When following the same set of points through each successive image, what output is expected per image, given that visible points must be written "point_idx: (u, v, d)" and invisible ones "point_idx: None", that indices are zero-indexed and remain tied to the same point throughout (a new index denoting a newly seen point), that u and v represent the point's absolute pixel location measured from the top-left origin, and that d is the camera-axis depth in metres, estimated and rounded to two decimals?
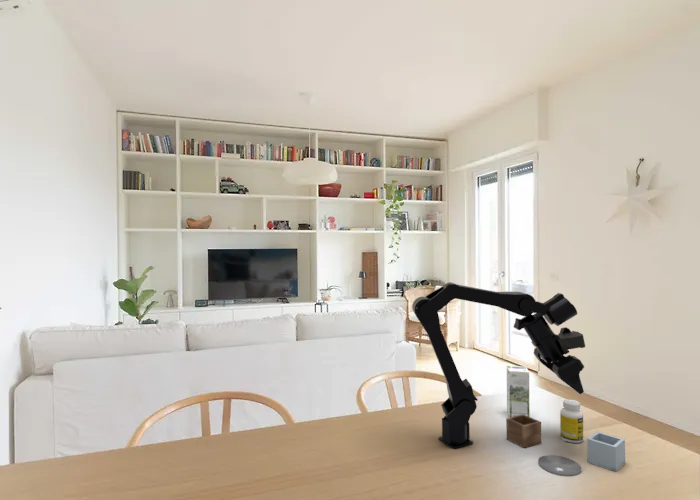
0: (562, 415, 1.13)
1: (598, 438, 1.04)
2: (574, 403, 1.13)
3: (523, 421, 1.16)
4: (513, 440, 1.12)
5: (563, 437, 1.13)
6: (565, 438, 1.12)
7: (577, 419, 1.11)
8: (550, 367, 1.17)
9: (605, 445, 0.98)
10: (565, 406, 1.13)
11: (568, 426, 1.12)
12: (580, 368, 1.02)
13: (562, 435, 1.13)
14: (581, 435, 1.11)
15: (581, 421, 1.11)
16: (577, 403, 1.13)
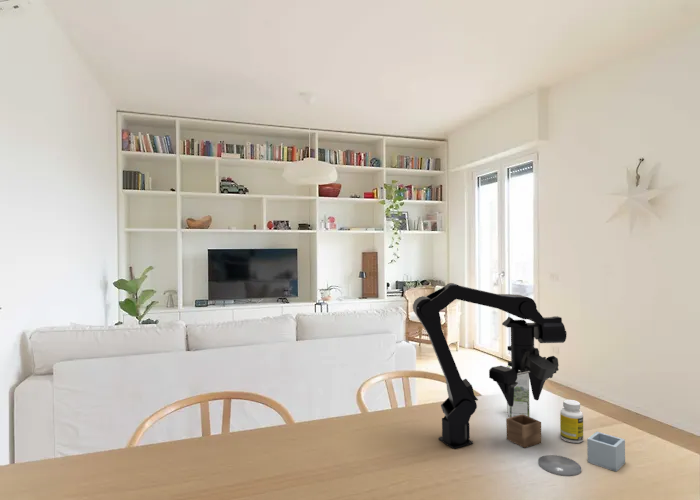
0: (562, 415, 1.13)
1: (598, 438, 1.04)
2: (574, 403, 1.13)
3: (523, 421, 1.16)
4: (513, 440, 1.12)
5: (563, 437, 1.13)
6: (565, 438, 1.12)
7: (577, 419, 1.11)
8: (531, 378, 1.17)
9: (605, 445, 0.98)
10: (565, 406, 1.13)
11: (568, 426, 1.12)
12: (502, 381, 1.07)
13: (562, 435, 1.13)
14: (581, 435, 1.11)
15: (581, 421, 1.11)
16: (577, 403, 1.13)
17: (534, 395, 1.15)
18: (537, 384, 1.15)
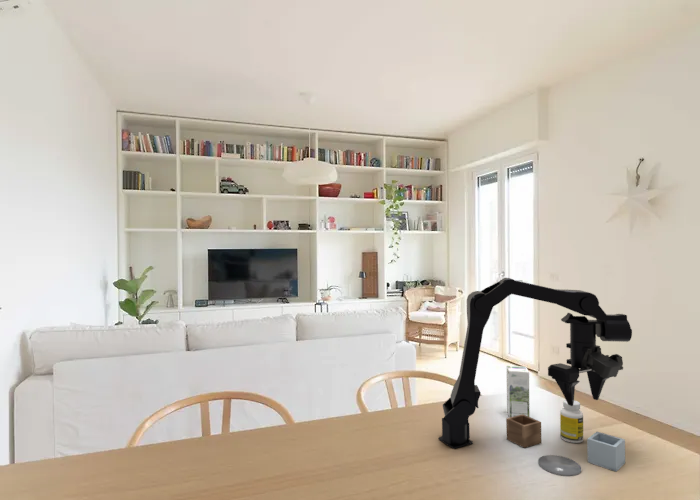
0: (562, 415, 1.13)
1: (598, 438, 1.04)
2: (574, 403, 1.13)
3: (523, 421, 1.16)
4: (513, 440, 1.12)
5: (563, 437, 1.13)
6: (565, 438, 1.12)
7: (577, 419, 1.11)
8: (589, 377, 1.12)
9: (605, 445, 0.98)
10: (565, 406, 1.13)
11: (568, 426, 1.12)
12: (563, 379, 1.03)
13: (562, 435, 1.13)
14: (581, 435, 1.11)
15: (581, 421, 1.11)
16: (577, 403, 1.13)
17: (593, 395, 1.11)
18: (597, 383, 1.10)
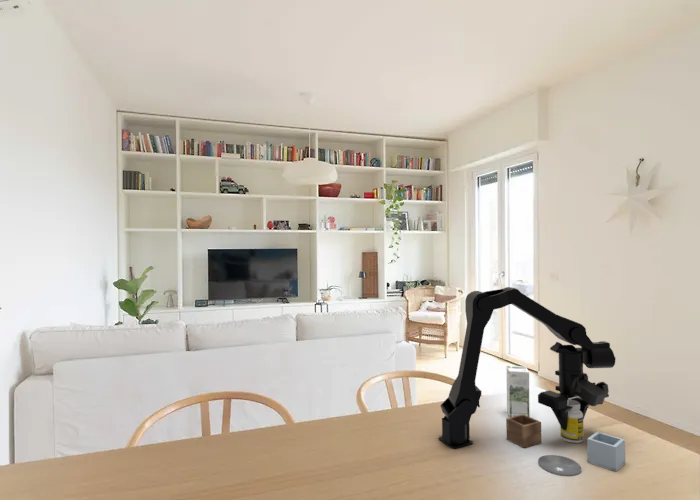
0: None
1: (598, 438, 1.04)
2: (574, 403, 1.13)
3: (523, 421, 1.16)
4: (513, 440, 1.12)
5: (563, 437, 1.13)
6: (565, 438, 1.12)
7: (577, 419, 1.11)
8: None
9: (605, 445, 0.98)
10: None
11: (568, 426, 1.12)
12: (553, 407, 1.08)
13: (562, 435, 1.13)
14: (581, 435, 1.11)
15: (581, 421, 1.11)
16: (577, 403, 1.13)
17: None
18: (580, 410, 1.15)
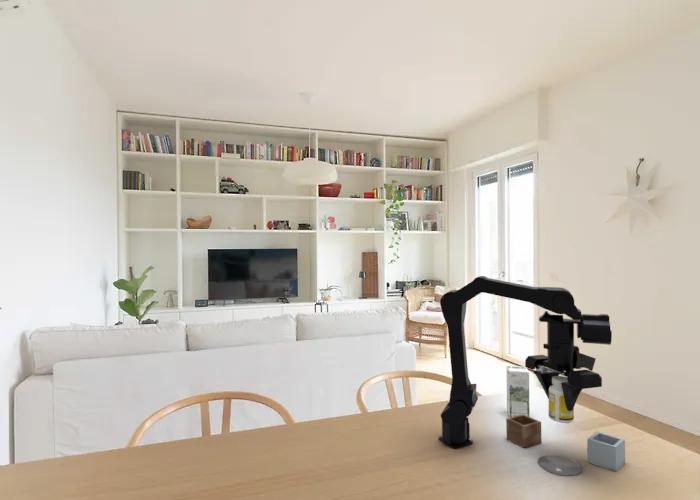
0: None
1: (598, 438, 1.04)
2: (565, 378, 1.03)
3: (523, 421, 1.16)
4: (513, 440, 1.12)
5: (567, 420, 1.00)
6: (570, 420, 1.00)
7: None
8: (545, 381, 1.05)
9: (605, 445, 0.98)
10: None
11: None
12: (599, 385, 0.94)
13: (566, 418, 1.00)
14: None
15: None
16: (564, 377, 1.04)
17: None
18: (552, 384, 1.06)
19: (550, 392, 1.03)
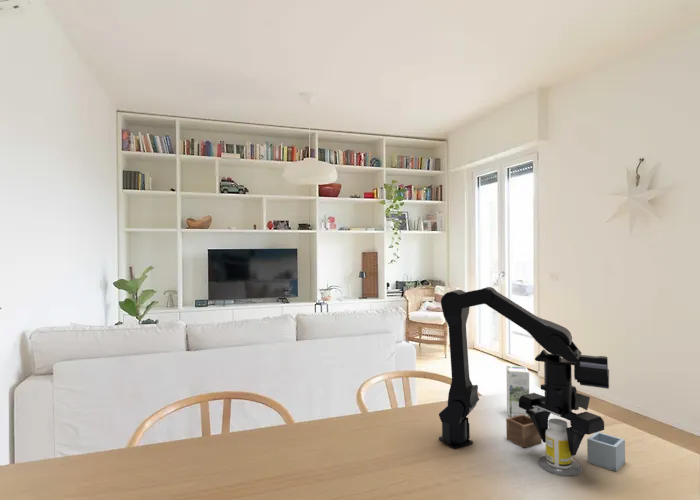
0: (566, 441, 0.97)
1: (598, 438, 1.04)
2: (561, 421, 1.00)
3: (523, 421, 1.16)
4: (513, 440, 1.12)
5: (567, 465, 0.97)
6: (569, 465, 0.98)
7: None
8: (538, 422, 1.03)
9: (605, 445, 0.98)
10: (564, 429, 0.98)
11: None
12: (602, 428, 0.92)
13: (566, 464, 0.97)
14: None
15: None
16: (559, 419, 1.01)
17: (545, 438, 1.03)
18: (545, 424, 1.04)
19: (548, 437, 0.99)
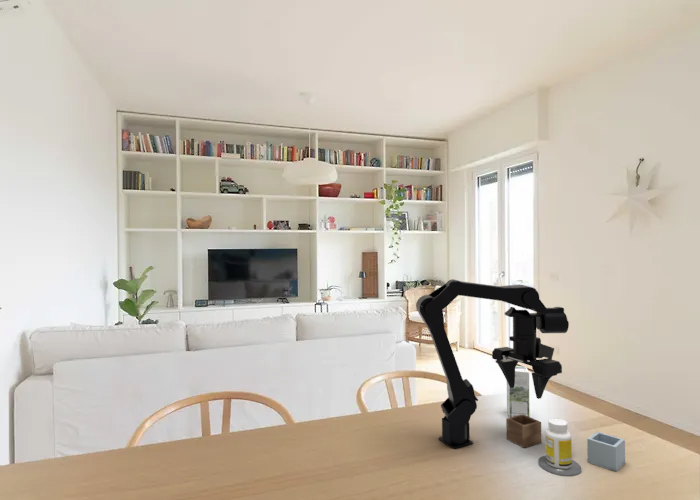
0: (566, 441, 0.97)
1: (598, 438, 1.04)
2: (561, 421, 1.00)
3: (523, 421, 1.16)
4: (513, 440, 1.12)
5: (567, 465, 0.97)
6: (569, 465, 0.98)
7: None
8: (506, 369, 1.17)
9: (605, 445, 0.98)
10: (564, 429, 0.98)
11: (570, 449, 0.98)
12: (560, 371, 1.05)
13: (566, 464, 0.97)
14: None
15: None
16: (559, 419, 1.01)
17: (511, 384, 1.17)
18: (512, 372, 1.18)
19: (548, 437, 0.99)
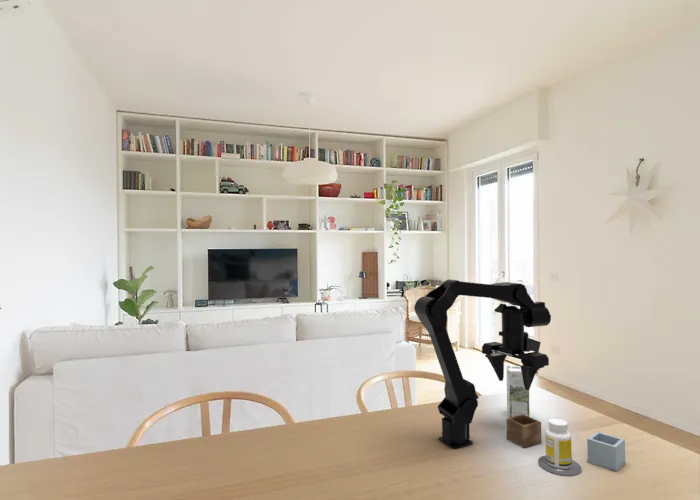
0: (566, 441, 0.97)
1: (598, 438, 1.04)
2: (561, 421, 1.00)
3: (523, 421, 1.16)
4: (513, 440, 1.12)
5: (567, 465, 0.97)
6: (569, 465, 0.98)
7: None
8: (495, 363, 1.22)
9: (605, 445, 0.98)
10: (564, 429, 0.98)
11: None
12: (547, 364, 1.11)
13: (566, 464, 0.97)
14: None
15: None
16: (559, 419, 1.01)
17: (500, 377, 1.22)
18: (501, 365, 1.23)
19: (548, 437, 0.99)
